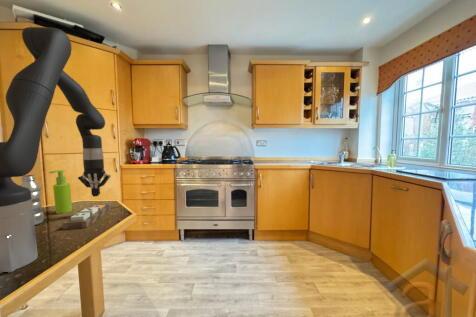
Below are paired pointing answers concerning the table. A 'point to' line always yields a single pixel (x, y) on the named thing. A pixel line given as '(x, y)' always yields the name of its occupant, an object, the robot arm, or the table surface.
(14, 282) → the table surface
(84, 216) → the two dot button
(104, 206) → the one dot button
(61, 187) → the soap dispenser
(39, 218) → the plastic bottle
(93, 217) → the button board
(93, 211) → the three dot button
